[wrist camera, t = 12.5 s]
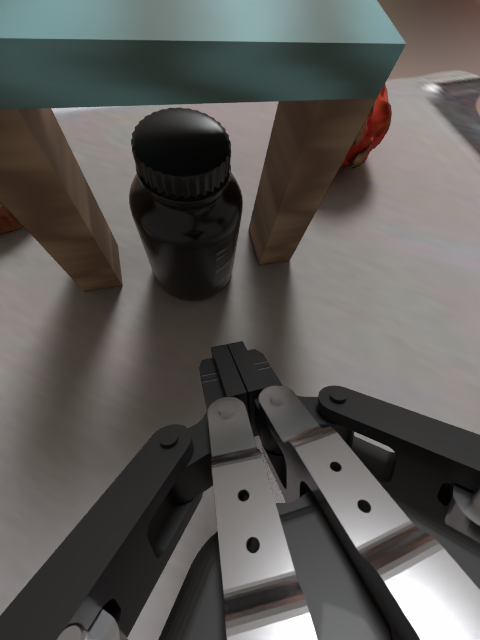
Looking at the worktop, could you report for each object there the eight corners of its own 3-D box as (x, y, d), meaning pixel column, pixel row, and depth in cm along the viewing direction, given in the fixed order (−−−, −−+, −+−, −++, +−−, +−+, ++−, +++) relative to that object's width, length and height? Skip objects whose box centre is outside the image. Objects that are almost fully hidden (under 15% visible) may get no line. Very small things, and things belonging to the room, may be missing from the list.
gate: (277, 225, 27) (368, -12, 12) (289, 260, 26) (406, 43, 11) (81, 249, 24) (-127, -41, 9) (83, 291, 22) (-152, 36, 8)
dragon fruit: (299, 201, 31) (325, 150, 37) (385, 186, 26) (399, 131, 32) (277, 114, 25) (312, 70, 31) (382, 76, 20) (400, 33, 26)
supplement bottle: (212, 226, 26) (219, 82, 15) (244, 286, 24) (279, 174, 13) (141, 249, 24) (88, 105, 13) (170, 315, 23) (139, 215, 12)
